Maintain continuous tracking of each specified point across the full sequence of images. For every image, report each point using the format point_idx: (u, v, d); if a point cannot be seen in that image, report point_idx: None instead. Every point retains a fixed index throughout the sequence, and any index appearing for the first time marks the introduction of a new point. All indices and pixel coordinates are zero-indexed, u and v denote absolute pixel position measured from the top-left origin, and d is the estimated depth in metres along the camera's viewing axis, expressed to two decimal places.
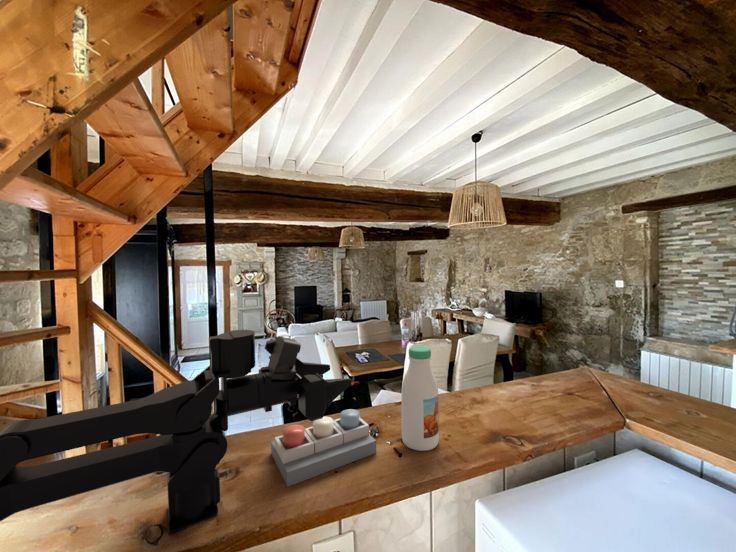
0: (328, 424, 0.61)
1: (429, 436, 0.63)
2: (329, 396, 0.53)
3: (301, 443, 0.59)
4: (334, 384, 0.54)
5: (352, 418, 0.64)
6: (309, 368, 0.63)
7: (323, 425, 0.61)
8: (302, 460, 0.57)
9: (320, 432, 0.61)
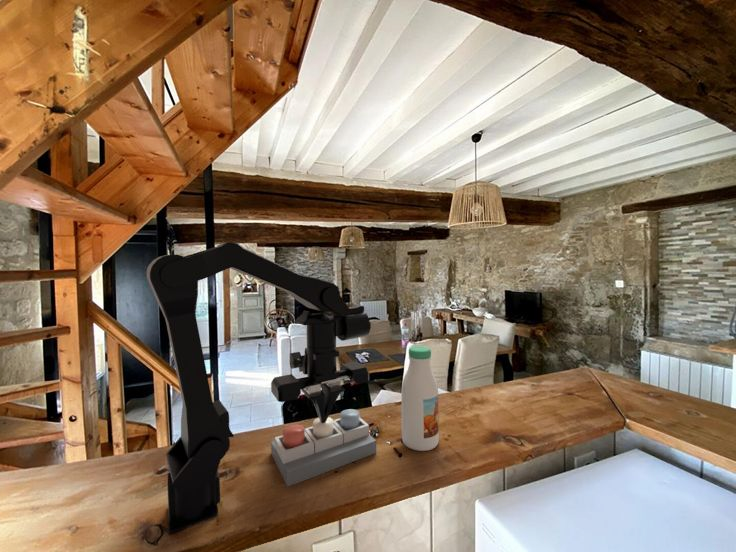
0: (328, 425, 0.61)
1: (429, 436, 0.63)
2: None
3: (301, 443, 0.59)
4: None
5: (352, 418, 0.64)
6: None
7: (323, 425, 0.61)
8: (302, 460, 0.57)
9: (320, 433, 0.61)
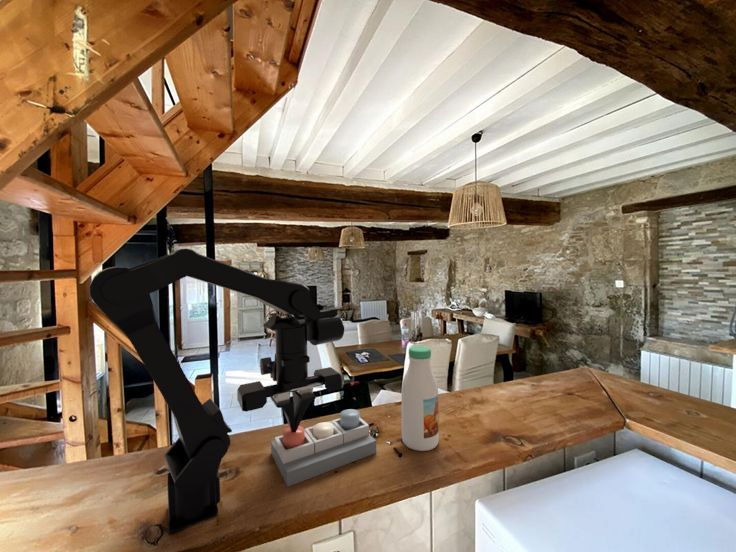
0: (328, 431, 0.62)
1: (429, 436, 0.63)
2: None
3: (301, 444, 0.59)
4: None
5: (352, 418, 0.64)
6: None
7: (323, 431, 0.61)
8: (302, 460, 0.57)
9: None
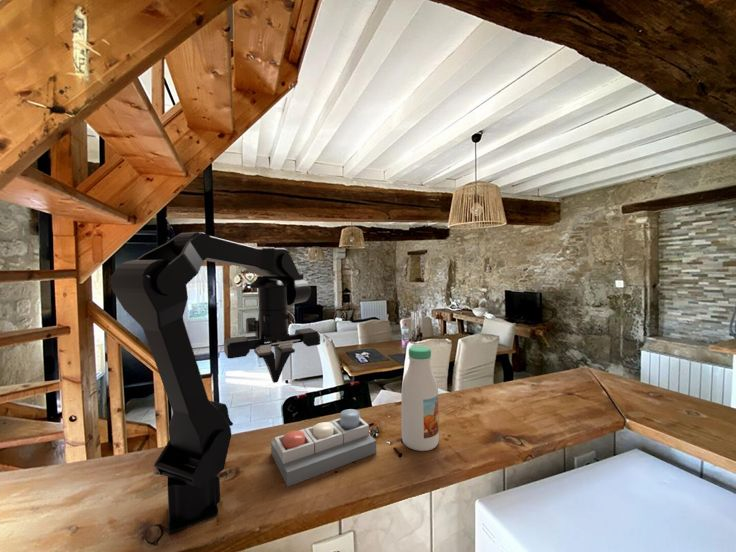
0: (328, 431, 0.62)
1: (429, 436, 0.63)
2: None
3: None
4: None
5: (352, 418, 0.64)
6: None
7: (323, 431, 0.61)
8: (302, 460, 0.57)
9: None
